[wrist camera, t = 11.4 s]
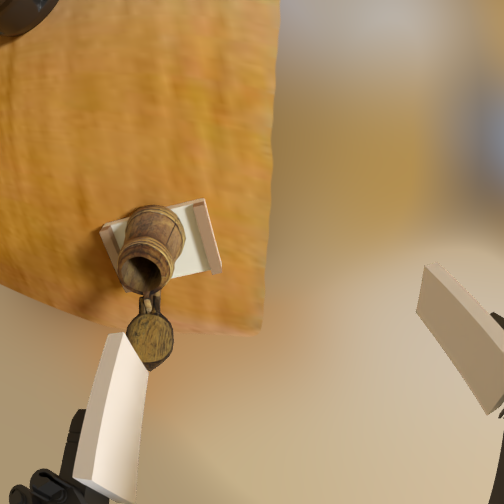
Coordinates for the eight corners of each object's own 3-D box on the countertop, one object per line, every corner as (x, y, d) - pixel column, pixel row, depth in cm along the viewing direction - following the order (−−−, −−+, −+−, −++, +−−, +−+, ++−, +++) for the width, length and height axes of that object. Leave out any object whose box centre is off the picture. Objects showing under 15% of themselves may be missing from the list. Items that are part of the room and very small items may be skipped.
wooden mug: (139, 286, 47) (115, 372, 31) (121, 208, 40) (73, 277, 24) (193, 282, 47) (187, 371, 32) (181, 201, 41) (162, 270, 25)
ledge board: (105, 223, 42) (98, 231, 40) (204, 197, 43) (203, 204, 40) (129, 282, 48) (125, 292, 45) (221, 262, 48) (221, 272, 45)
